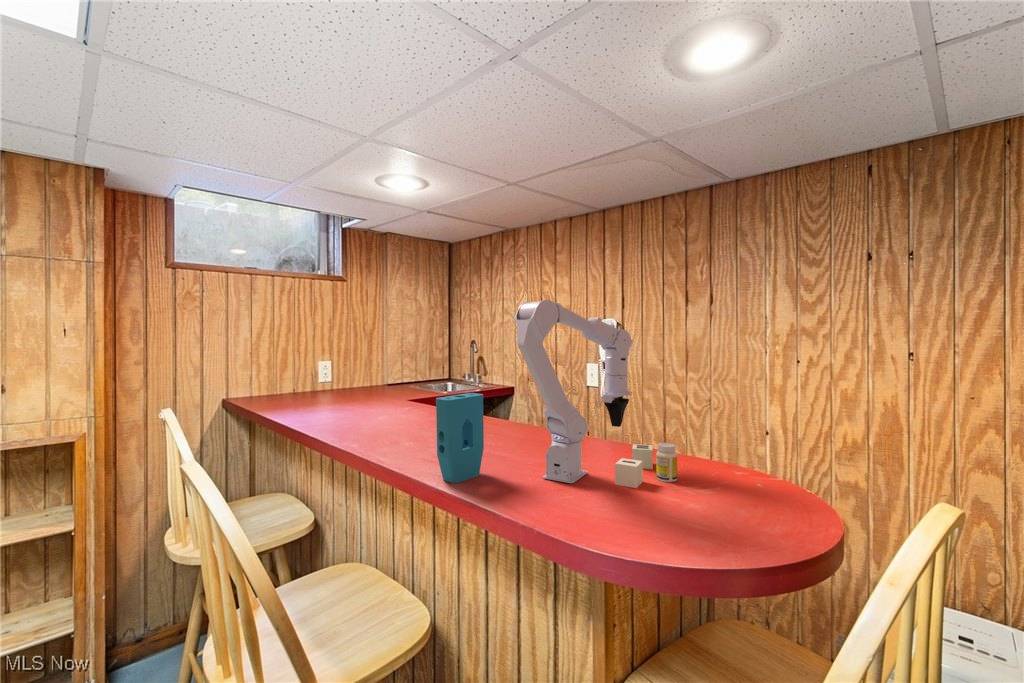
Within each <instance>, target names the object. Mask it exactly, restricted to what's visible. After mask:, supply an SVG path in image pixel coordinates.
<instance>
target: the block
mask: <svg viewBox="0 0 1024 683" xmlns="http://www.w3.org/2000/svg"><path fill="white" fill-rule="evenodd" d="M435 405H436V406H435V409H436V410H435V411H436V412H435V413H436V414H435V415H436V416H435V418H436V421H435V422H436V457H437V459H438V460H437V461H438V464H439V468H440V473H441V476H442V480H443V481H445V482H448V483H451V484H458V483H461V482H464V481H467V480H471V479H473V478H474V479H475V478H476V477H479V476H480V472H481V466H482V461H483V455H484V450H485V445H484V444H485V443H484V442H485V440H484V435H485V434H484V394H483V393H476V392H468V393H461V394H454V395H448V396H442V397H436V398H435Z"/></svg>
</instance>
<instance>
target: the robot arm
mask: <svg viewBox="0 0 1024 683" xmlns="http://www.w3.org/2000/svg"><path fill="white" fill-rule="evenodd" d="M513 318H514V321H515V324H516V336H517V337H516V338H517V341H516V342H517V347H518V349H519V352H520V353H521V355H522V357H523V360H524V362H525V364H526V366H527V368H528V371H529V372H530V375H531V377H532V378H533V382H534V383H535V386H536V388H537V390H538V392H539V394H540V397H541V398H542V400H543V402H544V405H545V408H546V409H545V410H544V412H543V415H544V417H545V421H546V422H545V425H546V426H545V427H546V429H547V430H548V432H549V433H550V437H551V445H550V446H549V447H548V448H547V451H546V453H545V473H546V474H544V475H543V476H542V478H543V479H545V480H552V481H555V482H561V483H567V484H574V483H576V482H577V481H579V480H580V479H581V478H582V477H584V476H586V475H587V474H588V470H584V469H583V468H582V467H583V466H582V442H583V441H584V440H583V439H584V438H585V437H586V434H587V433H588V426H589V425H588V422H587V420H586V418H585V416H582V415H581V414H580V412H579V410H578V408H577V407H575V405H573V403H571V402H570V401H569V399H568V397H567V395H566V393H565V391H564V389H563V386H562V384H561V383H560V380H559V377H558V376H557V373H556V370H555V369H554V366H553V365H552V362H551V359H550V358H549V356H548V353H547V351H546V349H545V347H544V345H543V344H544V342H545V338H546V337H547V336H548V334H549V333H550V331H552V329H553V328H554V327H555V325H556V324H561V325H564V326H566V327H569V328H571V329H574V330H577V331H579V332H581V334H582V337H583V338H584V339H586V340H588V341H590V342H592V343H594V344H597V345H600V346H601V349H602V350H604V356H605V357H604V365H605V366H604V368H605V369H604V376H605V377H604V380H605V382H604V383H605V384H604V385H605V386H604V387H605V390H604V394H603V396H602V398H603V399H602V400H603V401H602V402H603V404H604V405H605V407H606V409H607V412H608V415H609V419H610V424H611V426H612V427H617V428H620V427H622V423H623V419H624V415H625V411H626V409H627V406H628V405H629V404H628V403H629V401H630V398H624V397H626V396H627V397H628V396H631V395H633V391H629V388H628V358H629V355H630V350H631V348H632V345H633V339H632V337H631V335H630V333H629V331H627V330H626V329H623V328H621V329H618V328H616V326H615V325H614V324H608V323H606V322H605V321H603V320H602V318H601V317H600V316H597V317H596V316H595V317H590V318H588V319H586V318H585V317H583V316H581V315H579V314H577V313H576V312H574V311H572V310H570V309H568V308H566V306H563V305H562V304H561V303H558V302H555V301H552V300H551V299H543V300H537V301H525V302H522V303H521V304H520V305H519V306H518V308H517V311H516V313H515V316H513Z"/></svg>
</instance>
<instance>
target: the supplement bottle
mask: <svg viewBox="0 0 1024 683" xmlns="http://www.w3.org/2000/svg"><path fill="white" fill-rule="evenodd" d="M655 459H656V460H655V462H656V463H655V464H656V466H655V468H656V470H655V471H656V473H655V474H656V479H657V480H658V481H660V482H664V483H674V482H676V481H678V454H677V452H676V444H674V443H672V442H659V443H657V451H656V454H655Z"/></svg>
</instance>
